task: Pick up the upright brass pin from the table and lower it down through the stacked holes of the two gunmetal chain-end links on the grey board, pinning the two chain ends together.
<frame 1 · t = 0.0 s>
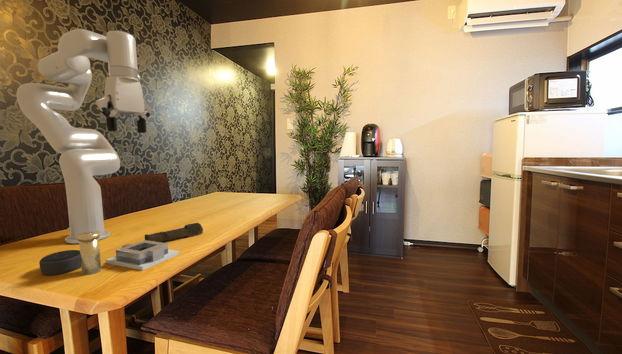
hand: (128, 132, 90), 37 cm above the table, tool pointing down, fingers open, 9 cm apart
hand tool: (175, 240, 100), on the table
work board: (144, 258, 83), on the table
smart speaker: (63, 270, 76), on the table
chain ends: (140, 251, 81), on the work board, point 2 cm above the table
brass pin: (91, 271, 74), on the table
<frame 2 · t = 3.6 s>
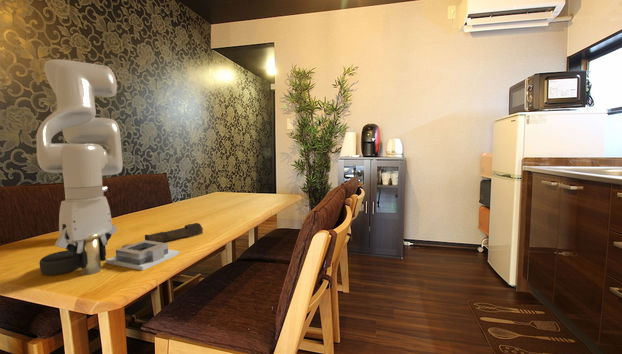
hand: (91, 262, 74), 2 cm above the table, tool pointing down, fingers closed on brass pin, 4 cm apart
brass pin: (91, 271, 74), on the table, touching gripper
everything else where it was.
when the fingers open (5 cm above the table, at t = 8.8 s): brass pin drops 2 cm, resting on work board.
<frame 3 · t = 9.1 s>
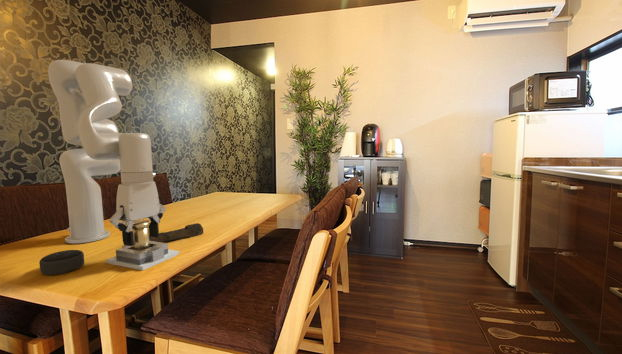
hand: (142, 240, 81), 6 cm above the table, tool pointing down, fingers open, 7 cm apart
brass pin: (142, 257, 81), point 1 cm above the table, touching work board
everything else where it was.
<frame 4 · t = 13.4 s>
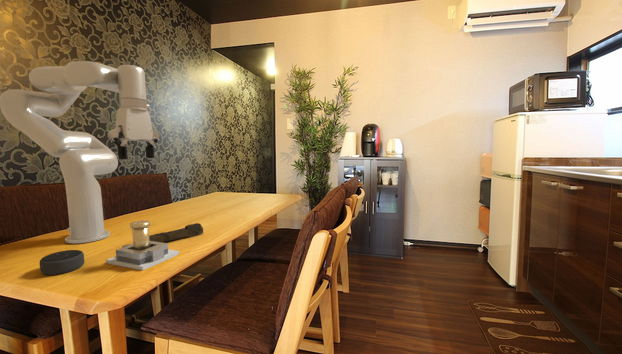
hand: (137, 158, 95), 28 cm above the table, tool pointing down, fingers open, 9 cm apart
nothing on the table moved.
at the end: brass pin 0.2 cm off-centre on the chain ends, point 1.0 cm above the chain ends's base; brass pin tilted 0°; the gripper is holding nothing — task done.
